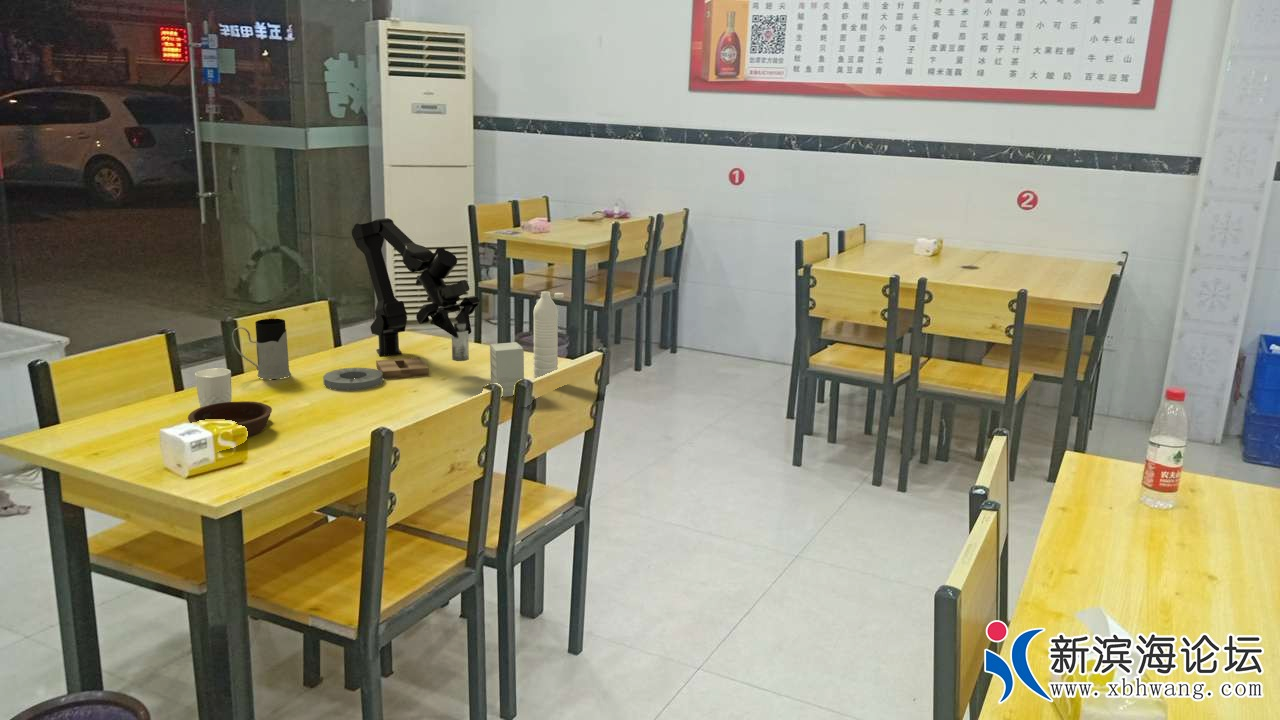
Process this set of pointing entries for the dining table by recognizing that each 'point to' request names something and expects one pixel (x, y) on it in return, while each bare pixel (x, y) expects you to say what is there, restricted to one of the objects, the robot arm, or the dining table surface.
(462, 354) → the grey small bottle
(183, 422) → the dining table surface
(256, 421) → the dish
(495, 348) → the supplement box
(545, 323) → the water bottle
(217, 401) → the white cup
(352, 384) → the round bore
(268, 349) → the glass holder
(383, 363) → the block
